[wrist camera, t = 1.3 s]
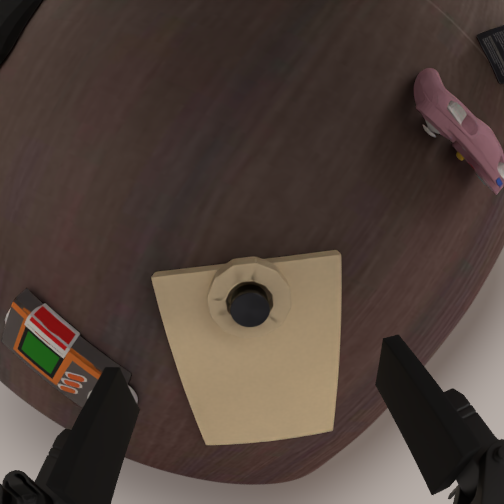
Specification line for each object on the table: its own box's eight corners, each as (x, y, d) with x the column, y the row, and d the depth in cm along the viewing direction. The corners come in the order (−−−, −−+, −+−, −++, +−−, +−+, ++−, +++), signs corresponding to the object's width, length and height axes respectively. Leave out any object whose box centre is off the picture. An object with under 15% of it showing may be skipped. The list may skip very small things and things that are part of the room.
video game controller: (390, 101, 18) (419, 124, 13) (421, 61, 16) (460, 71, 10) (466, 173, 20) (501, 216, 15) (494, 140, 17) (536, 175, 12)
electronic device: (117, 432, 22) (-4, 340, 18) (123, 412, 25) (11, 325, 21) (149, 406, 21) (9, 296, 17) (155, 383, 24) (26, 282, 20)
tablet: (336, 240, 20) (348, 251, 18) (330, 423, 26) (335, 440, 24) (153, 263, 20) (142, 276, 18) (206, 437, 26) (205, 455, 23)
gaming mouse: (85, -45, 11) (68, -64, 7) (-6, 86, 15) (-34, 81, 11) (50, -46, 10) (33, -61, 6) (-29, 72, 13) (-54, 68, 9)
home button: (266, 281, 18) (268, 290, 17) (269, 314, 19) (271, 325, 18) (228, 286, 18) (227, 295, 17) (233, 319, 19) (233, 329, 18)
